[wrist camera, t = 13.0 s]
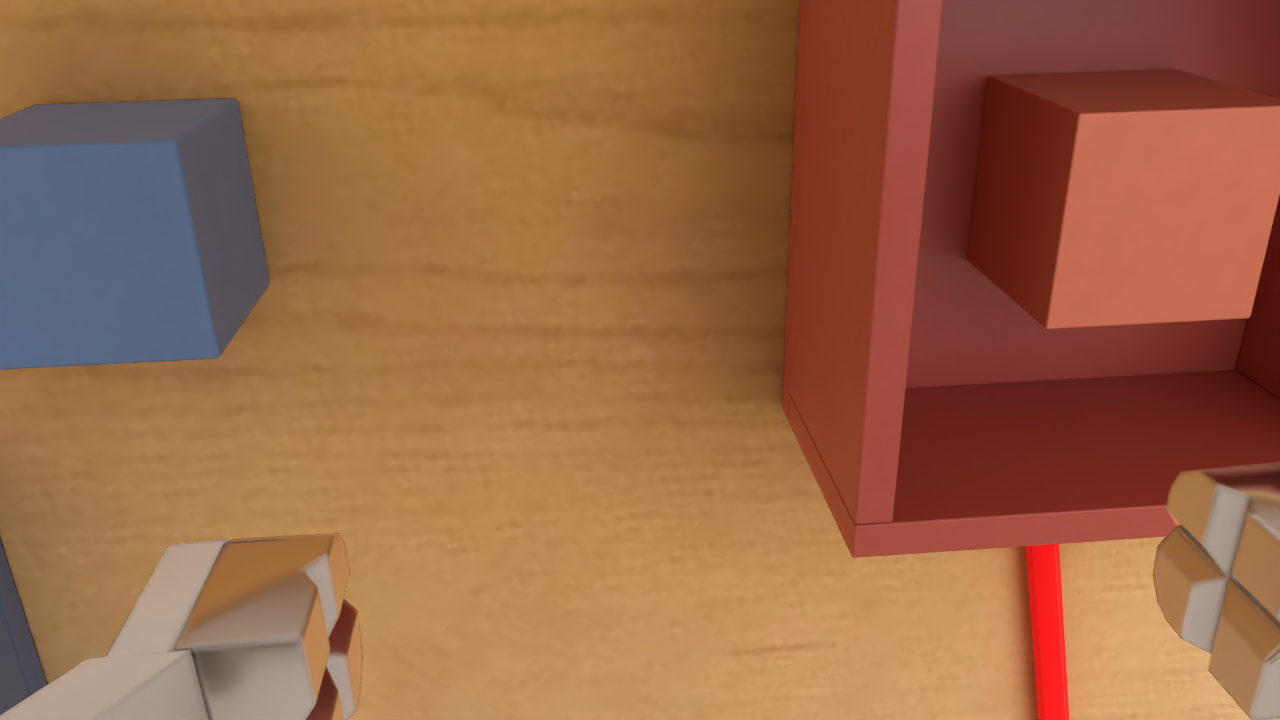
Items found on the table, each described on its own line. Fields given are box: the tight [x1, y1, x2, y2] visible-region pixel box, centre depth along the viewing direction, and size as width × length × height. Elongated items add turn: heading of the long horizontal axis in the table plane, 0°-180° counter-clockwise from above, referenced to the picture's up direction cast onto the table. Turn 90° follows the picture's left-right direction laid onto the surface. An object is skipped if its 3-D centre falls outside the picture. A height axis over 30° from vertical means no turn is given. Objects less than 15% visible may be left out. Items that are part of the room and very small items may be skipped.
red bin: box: [782, 0, 1280, 558], centre depth 22 cm, size 13×13×7 cm
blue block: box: [0, 98, 269, 369], centre depth 22 cm, size 4×4×4 cm
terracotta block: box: [967, 69, 1280, 329], centre depth 23 cm, size 4×4×4 cm
